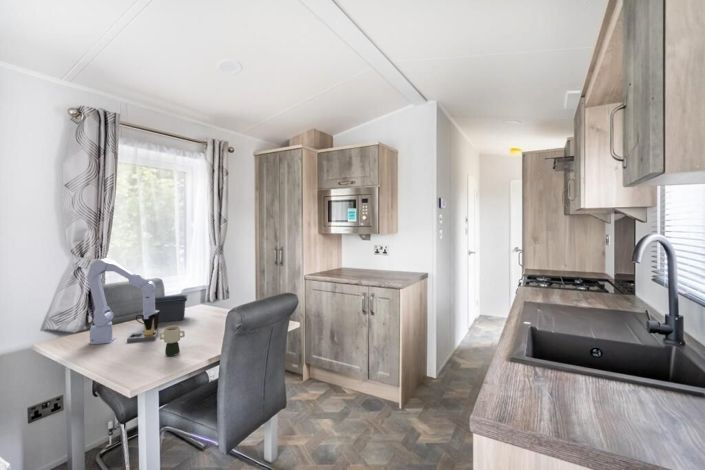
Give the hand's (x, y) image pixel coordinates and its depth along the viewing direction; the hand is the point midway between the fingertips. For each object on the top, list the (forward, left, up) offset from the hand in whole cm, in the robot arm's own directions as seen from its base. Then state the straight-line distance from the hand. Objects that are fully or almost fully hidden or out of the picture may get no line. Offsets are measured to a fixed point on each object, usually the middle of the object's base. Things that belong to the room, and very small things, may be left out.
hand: (149, 328), depth 193 cm
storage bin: (+3, +36, -6) cm, 37 cm away
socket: (-3, 0, -5) cm, 6 cm away
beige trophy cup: (+16, -29, -6) cm, 34 cm away
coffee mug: (-5, +19, -6) cm, 20 cm away
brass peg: (0, 0, -4) cm, 4 cm away
